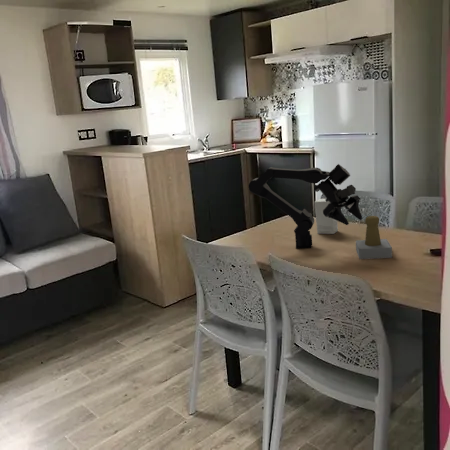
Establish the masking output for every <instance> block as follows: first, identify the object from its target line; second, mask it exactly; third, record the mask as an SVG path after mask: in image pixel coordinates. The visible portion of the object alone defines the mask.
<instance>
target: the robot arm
mask: <svg viewBox="0 0 450 450" xmlns="http://www.w3.org/2000/svg"><path fill="white" fill-rule="evenodd" d="M349 177H351V173H350V172H349V171H348V170H347V168H344V167H343V166H342V165H341V164H339V163H337V164H336V165H335V167H334V168H333V169H331V170H330V171H326V170H322V169H321V168H319V167H309V168H304V169H302V168H301V169H297V168H296V169H295V168H280V167H279V168H278V167H273V166H271V167H269V168H267V169H266V171H265V172H263V173H262V174H261V175H260V176H259V177H256V178H254V179H252V180H251V181H249V184H248V191H249V192H250V193H251V194H254V196H255V195H256V196H257V197H260V198H264V199H266V201H268V202H270V203H271V204H272V205H274V206H275V207H277V208H278V209H279V210H281V211H282V212H283V213H284V214H286V215H287V216H288V217H290V218H291V219H292V221H294V223H295V224H296V227H295V228H294V230H293V232H294V234H295V235H294V236H295V238H294V239H295V249H311V248H312V246H313V237H312V235H313V234H311V231H310V230H312V228H313V226H314V224H315V218H314V216H313V215H312V213H311V212H309V211H308V210H307V209H306V208H303V210H299V209H298V208H296V207H295V206H294V205H292V204H291V203H289V202H288V200H285V199H284V198H283V197H281V196H280V195H279V194H277V193H276V192H274V191H273V190H272V189H271V188H270V186H269V185H268V184H267V182H268V181H270V180H271V179H272V178H274V179H275V178H276V179H286V180H287V179H290V180H300V181H304V182H306V183H310V184H313V186H314V187H313V191H314V192H316V193H318V192H320V193H321V194H322V195H323V196H324V197H325V199H326V200H325V201H326V202H328V201H329V202H330V203H329V204H328V205H327V206H326V208H325V209H324V210H323V214H324V216H325V217H328V216H329V218H332V219H335V220H337V222H340V223H342V224H343V225H345V226H349V224H350V223H349V221H348V219H347V218H346V216H345V215H344V213H342V209H343V208H345V209H346V210H347V212H349V213H350V214H351V215H352V216H354V217H355V218H357V219H358V220H360V221H362V220H363V216H362V213H361V211H360V208H359V203H360V202H361V199H362V198H361V197H360V196H359V195H358V194H357V195H355V194H356V191H357V190H356V187H355V186H354V185H353V184H349V185H347V186H346V187H345V188H342V189H341V188H337V187H336V186H337V185H338V186H341V185H342V184H343V183H344V182H345V181H346V180H347V179H348V178H349Z"/></svg>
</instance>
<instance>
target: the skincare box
mask: <svg viewBox="0 0 450 450" xmlns="http://www.w3.org/2000/svg"><path fill="white" fill-rule="evenodd" d="M325 200H326V198H318V199H316V200H315V201H314V210H315V223H316V233H317V234H319V235H320V234H322V235H323V234H324V235H334V234H335V233H337V232H338V231H339V225H338V221H337V220H335V219H332V218H329V216H328V217H325V216H324V214H323V210H324V209H325V208H326V206H327V205H328V204H329V203H330V202H329V201H328V202H326V201H325Z"/></svg>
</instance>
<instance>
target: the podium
mask: <svg viewBox="0 0 450 450" xmlns="http://www.w3.org/2000/svg"><path fill="white" fill-rule="evenodd" d="M380 241H381V244H380V245H378V246H367V245H365V239H362V240H361V239H359V240H355V252H356V254H357V256H358V259H359V260H369V259H370V260H371V259H374V260H376V259H392V258H393V247H392V245H391V244H390V241H389V240H388V239H387V238H380Z"/></svg>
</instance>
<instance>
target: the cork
mask: <svg viewBox="0 0 450 450" xmlns="http://www.w3.org/2000/svg"><path fill="white" fill-rule="evenodd" d="M364 221H365V224H366V229H365V231H366V232H365V238H364V240H365V245H367V246H378V245H380V244H381V241H380V239H381V236H380V230H379V224H380V217H378V216H377V215H368V216H366V218H365V220H364Z"/></svg>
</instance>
